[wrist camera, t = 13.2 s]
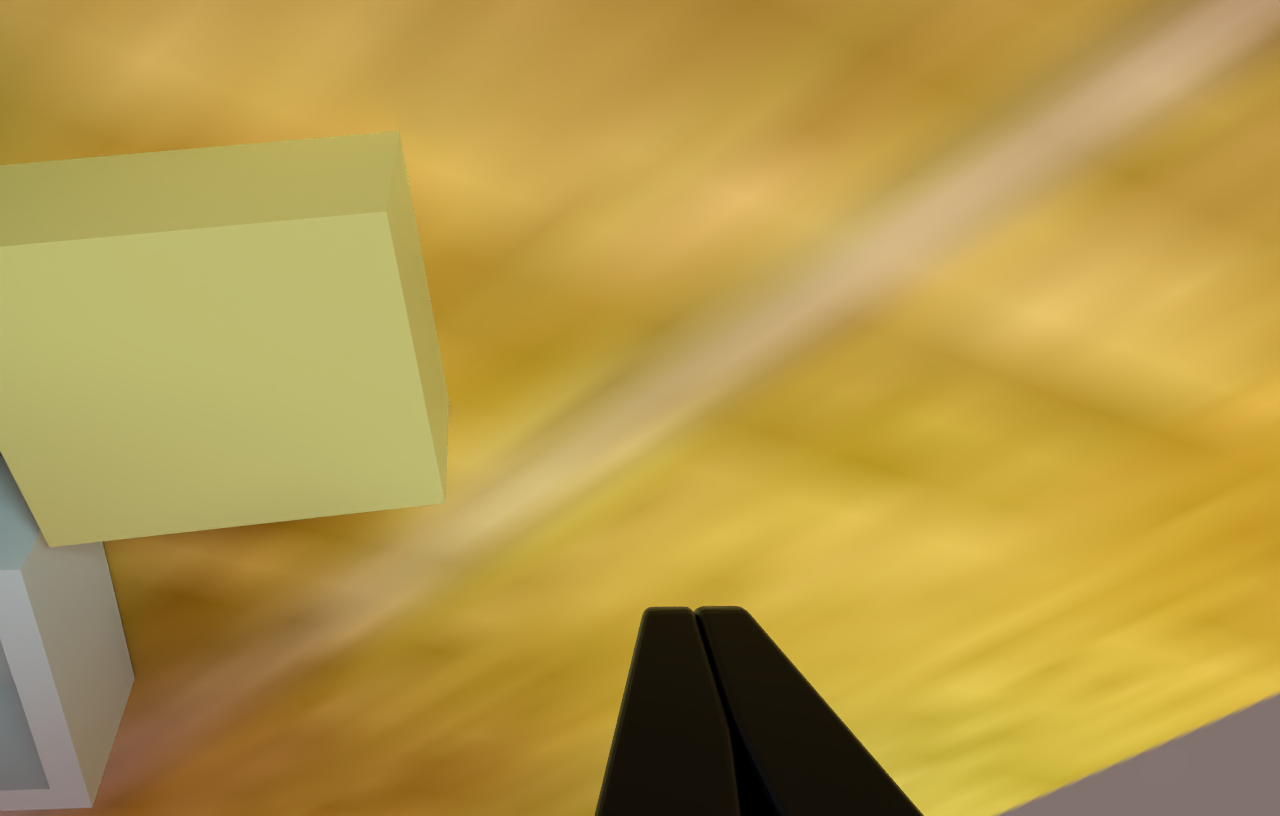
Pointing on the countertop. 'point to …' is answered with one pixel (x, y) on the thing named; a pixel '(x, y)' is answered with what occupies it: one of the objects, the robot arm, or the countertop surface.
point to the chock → (217, 338)
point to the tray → (55, 663)
